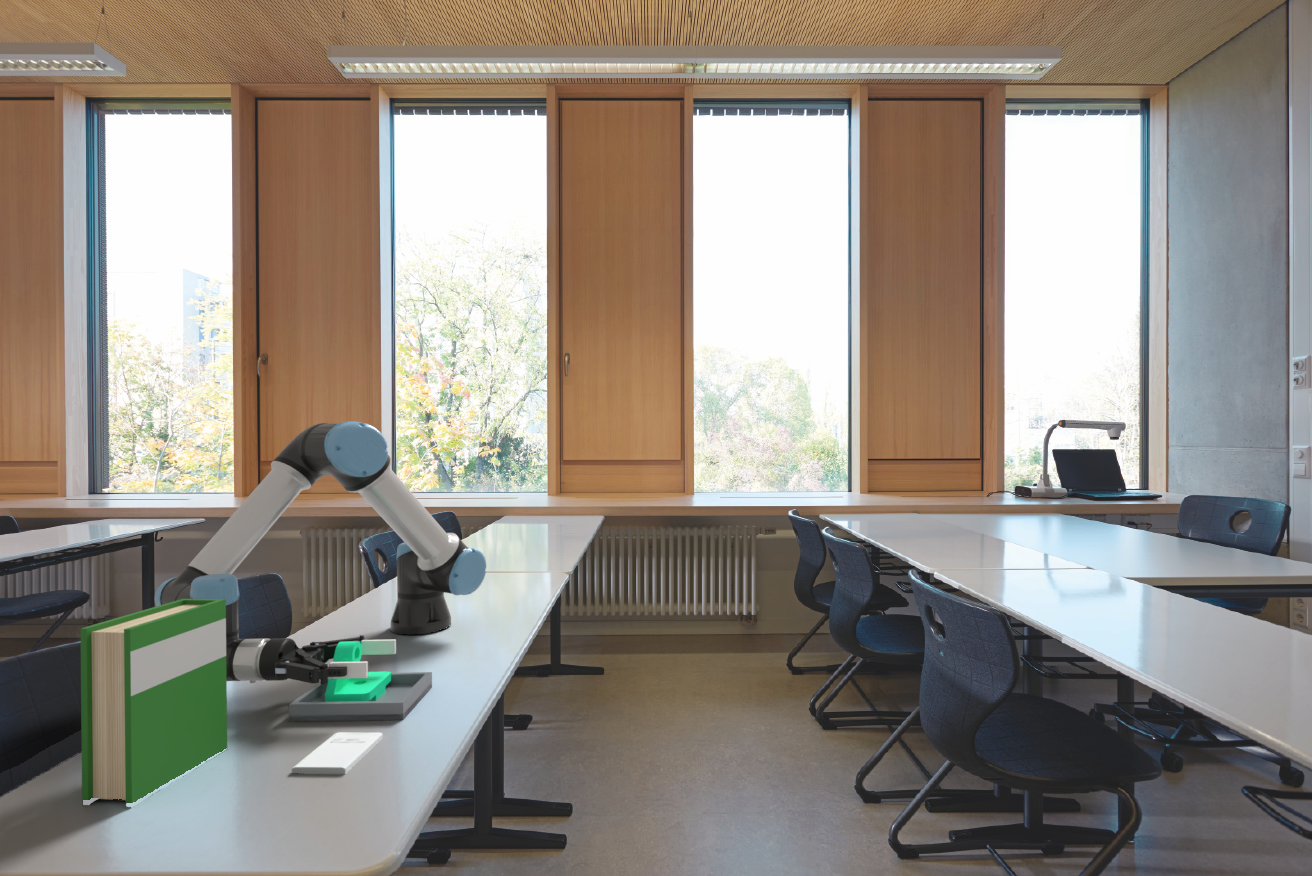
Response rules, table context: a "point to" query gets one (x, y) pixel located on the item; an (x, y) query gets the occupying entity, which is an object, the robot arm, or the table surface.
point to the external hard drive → (338, 753)
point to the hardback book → (152, 697)
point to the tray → (389, 706)
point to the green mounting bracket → (355, 687)
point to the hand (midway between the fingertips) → (382, 657)
